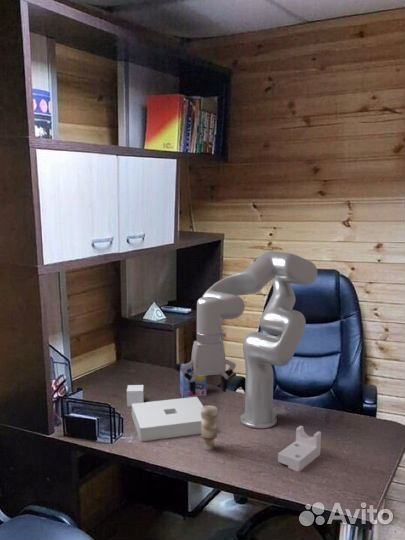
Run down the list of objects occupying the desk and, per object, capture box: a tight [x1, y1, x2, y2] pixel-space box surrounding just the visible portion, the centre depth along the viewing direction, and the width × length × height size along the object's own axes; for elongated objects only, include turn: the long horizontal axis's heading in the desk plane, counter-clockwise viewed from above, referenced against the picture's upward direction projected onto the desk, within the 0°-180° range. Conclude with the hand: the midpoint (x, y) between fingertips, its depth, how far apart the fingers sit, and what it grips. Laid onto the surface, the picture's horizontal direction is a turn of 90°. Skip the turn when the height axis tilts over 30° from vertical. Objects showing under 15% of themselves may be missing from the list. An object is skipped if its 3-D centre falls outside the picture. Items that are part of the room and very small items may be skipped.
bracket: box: [277, 425, 322, 472], centre depth 164 cm, size 13×7×8 cm, turn 140°
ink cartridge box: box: [179, 362, 208, 398], centre depth 212 cm, size 10×6×14 cm, turn 107°
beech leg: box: [200, 404, 218, 451], centre depth 170 cm, size 5×5×13 cm
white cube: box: [126, 384, 145, 407], centre depth 205 cm, size 6×6×6 cm
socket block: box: [131, 396, 204, 442], centre depth 188 cm, size 24×20×4 cm
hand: (208, 391), depth 168 cm, fingers open, 9 cm apart
